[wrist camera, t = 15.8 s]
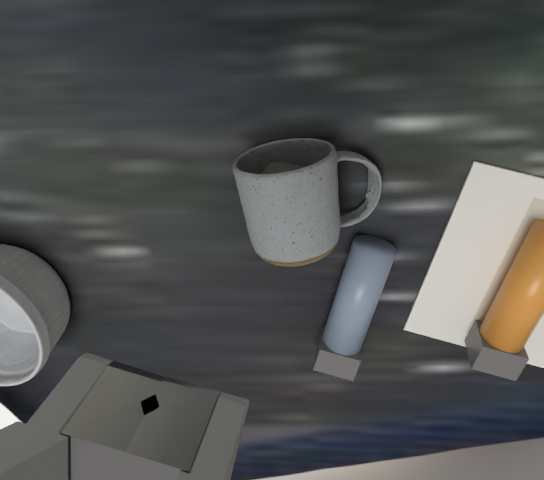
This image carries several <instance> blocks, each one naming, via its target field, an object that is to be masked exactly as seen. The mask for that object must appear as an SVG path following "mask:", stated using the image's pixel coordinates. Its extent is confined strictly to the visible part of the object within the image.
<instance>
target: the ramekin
mask: <svg viewBox="0 0 544 480" xmlns="http://www.w3.org/2000/svg"><path fill="white" fill-rule="evenodd" d="M69 317H70V301H69V297H68V293H67V290H66V287H65V285H64V283H63V282H62V280H61V278H60V277H59V276H58V274H57V273H56V272H55V271H54V269H53V268H52V267H51V266H50V265H49V264H47V263H46V262H45V261H44V260H43V259H41V258H40V257H38V256H37V255H35V254H33V253H31V252H29V251H27V250H25V249H22V248H19V247H15V246H10V245H5V244H0V386H13V385H18V384H22V383H24V382H26V381H28V380H30V379H31V378H33V377H34V376H35V375H36V374H37V373H38V372H39V371H40V370H41V369H42V368H43V366H44V365H45V363H46V361H47V359H48V357H49V354H50V352H51V351H52V349H53V348H54V346H55V345H56V343H57V342H58V340H59V339H60V337H61V336H62V334H63V332H64V331H65V329H66V326H67V324H68V321H69Z"/></svg>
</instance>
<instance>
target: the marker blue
mask: <svg viewBox="0 0 544 480" xmlns="http://www.w3.org/2000/svg"><path fill="white" fill-rule="evenodd" d="M395 256H396V249H395V247H394V246H393V245H392V244H390V243H389V242H388V241H386V240H384V239H382V238H379V237H376V236H372V235H358V236H356V237H355V238H354V239H353V242H352V245H351V248H350V251H349V254H348V257H347V261H346V264H345V267H344V270H343V273H342V276H341V279H340V282H339V286H338V289H337V292H336V295H335V298H334V301H333V304H332V308H331V311H330V314H329V317H328V320H327V323H326V325H325V324H324V325H323V328H322V331H321V334H320V337H319V341H318V344H317V350H316V356H315V362H314V369H313V370H315V371H319V372H322V373H326V374H329V375H333V376H336V377H340V378H343V379H347V380H351V381H354V378H355V375H356V373H357V370H358V367H359V365H360V362H361V346H362V344H363V341H364V338H365V336H366V333H367V330H368V328H369V325H370V322H371V320H372V317H373V314H374V312H375V309H376V306H377V304H378V301H379V298H380V296H381V293H382V290H383V288H384V285H385V282H386V280H387V277H388V274H389V272H390V269H391V266H392V264H393V261H394V258H395Z"/></svg>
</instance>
